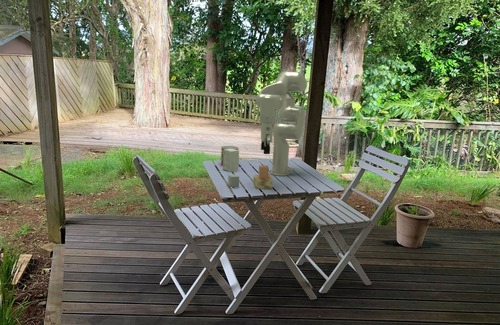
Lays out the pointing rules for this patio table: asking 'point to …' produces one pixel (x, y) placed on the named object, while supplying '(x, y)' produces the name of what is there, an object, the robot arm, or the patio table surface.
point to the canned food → (223, 151)
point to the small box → (231, 160)
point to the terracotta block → (263, 171)
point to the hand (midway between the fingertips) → (265, 151)
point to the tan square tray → (263, 182)
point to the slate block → (233, 180)
